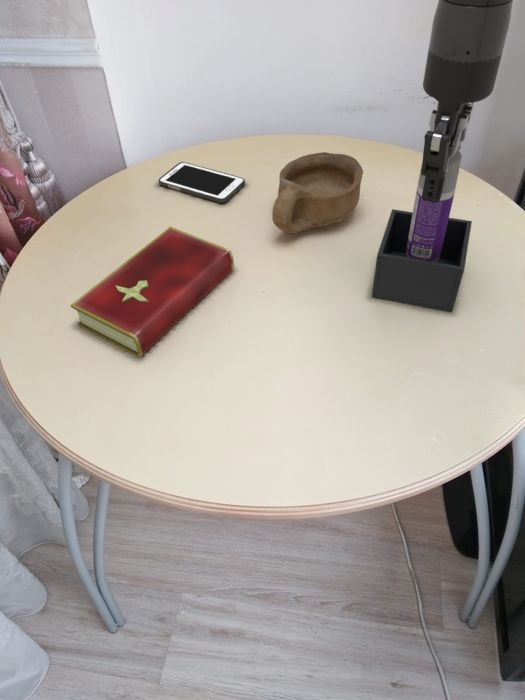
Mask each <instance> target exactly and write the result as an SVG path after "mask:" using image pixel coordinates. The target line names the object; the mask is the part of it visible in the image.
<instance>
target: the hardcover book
mask: <svg viewBox="0 0 525 700" xmlns="http://www.w3.org/2000/svg"><path fill="white" fill-rule="evenodd" d="M234 268H235V262H234V255H233V252H232V250H231V249H229V248H227V247H224V246H221V245H218V244H217V243H213V242H212V241H208V240H206V239H204V238H200V237H198V236H196V235H193V234H190V233H188V232H186V231H183V230H180V229H178V228H175V227H172V226H169V227H168V228H167V229H165V230H164V231H163V232H161V233H160V234H158V236H156V237H155V238H154V239H152V240H151V241H150V242H149V243H147V244H146V245H145V246H144V247H143V248H141V249H140V250H138V251H137V252H136V253H135V254H133V255H132V256H131V257H130V258H128V259H127V260H126V261H125V262H123V263H122V264H121V265H119V266H118V267H117V268H116V269H115V270H113V271H112V272H111V273H109V274H108V275H106V276H105V277H104V278H103V279H102V280H101V281H99V282H98V283H96V284H95V285H94V286H93V287H92V288H90V289H89V290H88V291H86V292H85V293H84V294H82V295H81V296H80V297H79V298H78V299H76V300H75V301H73V302H72V303H71V304H70V308H71V309H73V310H75V311H76V312H77V315H78V317H79V320H80V321H79V322H78V323H77V326H78V327H80V328H82V329H84V330H86V331H88V332H89V333H91V334H93V335H95V336H96V337H98V338H101V339H102V340H104V341H107V342H108V343H110V344H111V345H114V346H116V347H118V348H120V349H122V350H124V351H125V352H127V353H130V354H131V355H133V356H134V357H137V358H139V359H140V358H142V357H143V356H144V355H145V354H146V353H147V352H148V351H149V350H150V349H151V348H152V347H153V346H154V345H155V344H156V343H157V342H159V341H160V340H161V339H162V338H163V337H164V336H165V335H166V334H167V333H168V332H169V331H170V330H171V329H172V328H174V327H175V325H176V324H177V323H179V322H180V321H181V320H182V319H183V318H184V317H185V316H186V315H187V314H188V313H189V312H190V311H192V310H193V308H194V307H196V306H197V305H198V304H199V303H200V302H201V301H202V300H203V299H204V298H206V296H207V295H209V293H211V292H212V291H213V290H214V289H215V288H216V287H217V286H218V285H219V284H221V282H222V281H223V280H224V279H225V278H227V277H228V276H229V275H230V274H231V272H233V271H234Z"/></svg>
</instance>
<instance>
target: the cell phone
mask: <svg viewBox="0 0 525 700" xmlns="http://www.w3.org/2000/svg"><path fill="white" fill-rule="evenodd" d="M158 184H159V185H160V186H163V187H166V188H170V189H174V190H178V191H180V192H183V193H186V194H189V195H192V196H196V197H200V198H203V199H206V200H210V201H213V202H215V203H216V202H217V203H221V204H224V203H226V202H228V201H229V200H230V198H232V197H233V196H234V194H235V193H237V192H239V191H240V190H241V189H242V188H243V187H245V184H246V179H245V178H243V177H241V176H237V175H234V174H230V173H227V172H223V171H218V170H216V169H212V168H207V167H204V166H200V165H197V164H194V163H190V162H185V161H181V162H178V163H177V164H176V165H174V166H173V167H172V168H171V169H169V170H168V171H166V172H165V173H164V174H163V175H161V177H159V178H158Z"/></svg>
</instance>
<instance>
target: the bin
mask: <svg viewBox="0 0 525 700" xmlns="http://www.w3.org/2000/svg"><path fill="white" fill-rule="evenodd" d="M412 214H413V211H406V210H400V209H394V208H393V209H391V212H390V215H389V218H388V221H387V224H386V227H385V230H384V233H383V236H382V239H381V242H380V245H379V248H378V251H377V255H376V262H375V268H374V276H373V283H372V292H371V298H372V299H379V300H383V301H389V302H394V303H398V304H404V305H409V306H415V307H419V308H420V307H421V308H426V309H432V310H436V311H441V312H447V313H453V310H454V307H455V304H456V301H457V296H458V293H459V289H460V286H461V283H462V279H463V276H464V272H465V268H466V261H467V254H468V248H469V242H470V236H471V234H470V233H471V230H472V224H473V223H472V222H473V221H472V220H468V219H461V218H455V217H454V218H453V217H449V219H448V224H447V228H446V232H445V237H444V241H443V245H442V250H441V254H440V258H439V260H438V261H437V262H431V261H425V260H419V259H414V258H408V257H407V256H406V249H407V243H408V237H409V231H410V226H411V220H412Z"/></svg>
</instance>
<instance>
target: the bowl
mask: <svg viewBox="0 0 525 700" xmlns="http://www.w3.org/2000/svg"><path fill="white" fill-rule="evenodd" d="M363 175H364V170H363V167H362V165H361V164H360V162H359V161H358V160H357V159H356V158H355V157H353V156H351V155H348V154H344V153H330V152H327V151H323V152H316V153H311V154H306V155H302V156H300V157H298V158H296V159H293V160H291V161H289V162H287V164H285V166H283V168H282V169H281V170H280V172H279V182H278V183H279V184H278V191H277V198H276V199H275V201H274V202H273V203H274V204H273V207H272V212H271V215H272V216H271V217H272V222H273V224H274V225H275V227H276V228H278V229H279V230H281V232H284V233H288V234H298V233H301V232H302V231H307V230H310V229H312V228H314V229H315V228H319V227H325V226H328V225H332V224H335V223H338V222H339V221H342V220H343V219H345V218H347V217H349V216H350V214H351V213H353V212H354V210H355V209H356V208H357V206H358V203H359V201H360V193H361V184H362V180H363Z"/></svg>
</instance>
